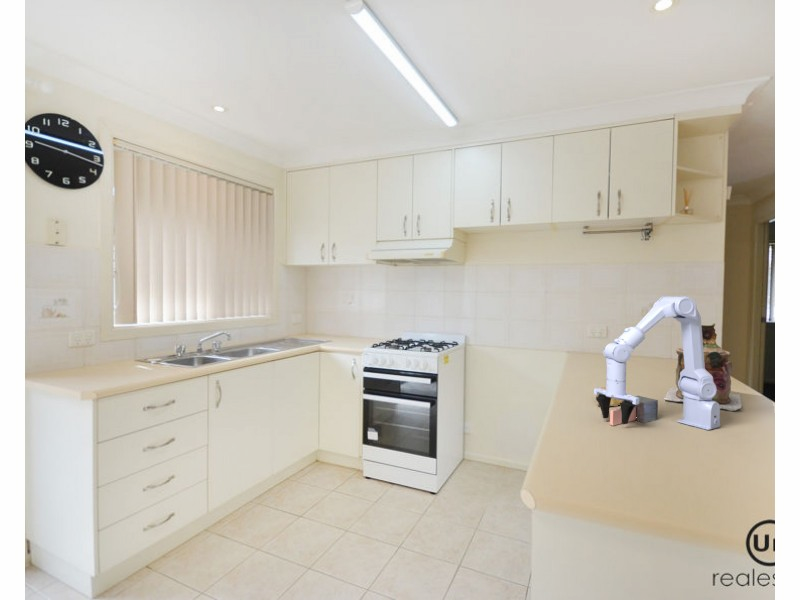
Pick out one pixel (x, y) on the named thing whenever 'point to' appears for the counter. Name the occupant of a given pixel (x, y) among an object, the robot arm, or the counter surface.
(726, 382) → the cookie jar
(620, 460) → the counter surface
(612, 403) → the croissant
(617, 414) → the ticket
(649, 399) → the grey cube
